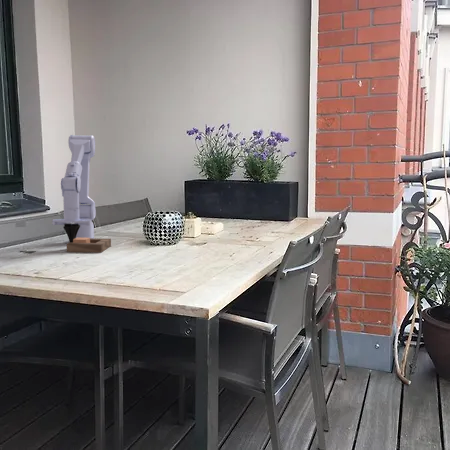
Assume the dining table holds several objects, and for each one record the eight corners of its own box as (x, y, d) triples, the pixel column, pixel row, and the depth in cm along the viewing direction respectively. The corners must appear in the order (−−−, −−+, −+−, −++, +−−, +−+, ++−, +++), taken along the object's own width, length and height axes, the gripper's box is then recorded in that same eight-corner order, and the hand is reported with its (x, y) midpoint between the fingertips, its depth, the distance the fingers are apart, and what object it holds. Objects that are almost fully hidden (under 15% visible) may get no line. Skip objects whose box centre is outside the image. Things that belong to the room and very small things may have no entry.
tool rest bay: (78, 245, 204) (78, 238, 204) (111, 246, 204) (110, 238, 203) (66, 251, 190) (66, 243, 190) (101, 252, 190) (101, 244, 190)
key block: (77, 247, 200) (77, 237, 199) (90, 247, 199) (90, 237, 199) (73, 249, 195) (73, 239, 194) (86, 250, 194) (86, 239, 194)
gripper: (48, 209, 192) (49, 245, 193) (87, 209, 191) (87, 245, 193) (55, 207, 199) (56, 242, 200) (92, 208, 198) (93, 242, 200)
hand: (72, 243), depth 197 cm, fingers closed
